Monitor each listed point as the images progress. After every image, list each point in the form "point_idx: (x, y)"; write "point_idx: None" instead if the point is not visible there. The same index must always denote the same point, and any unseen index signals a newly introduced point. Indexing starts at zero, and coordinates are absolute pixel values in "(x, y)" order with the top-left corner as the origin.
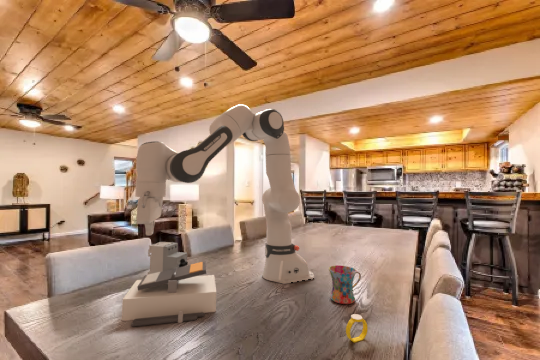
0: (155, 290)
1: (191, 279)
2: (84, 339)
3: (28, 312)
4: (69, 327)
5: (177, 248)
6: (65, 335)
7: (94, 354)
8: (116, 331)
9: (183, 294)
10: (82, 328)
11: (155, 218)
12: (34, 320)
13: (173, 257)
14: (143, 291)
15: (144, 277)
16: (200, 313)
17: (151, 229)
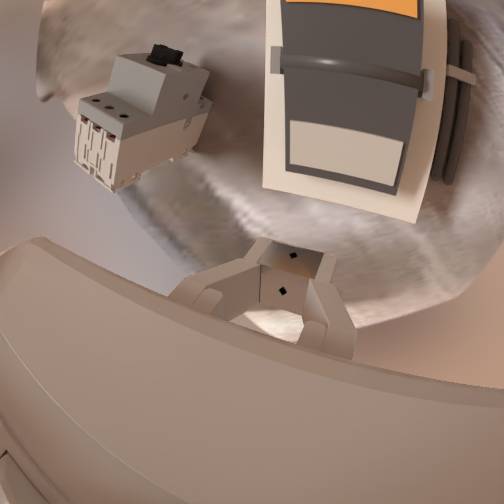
0: None
1: None
2: (447, 258)
3: (292, 328)
4: (386, 281)
5: (97, 94)
6: (414, 284)
7: (500, 242)
8: (449, 210)
9: (446, 57)
10: (402, 264)
11: (283, 356)
12: None
13: (161, 88)
14: None
15: (308, 172)
16: (458, 28)
17: (334, 289)
